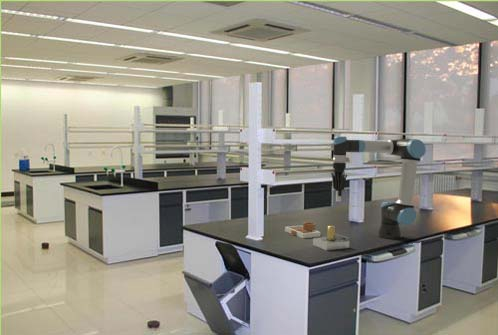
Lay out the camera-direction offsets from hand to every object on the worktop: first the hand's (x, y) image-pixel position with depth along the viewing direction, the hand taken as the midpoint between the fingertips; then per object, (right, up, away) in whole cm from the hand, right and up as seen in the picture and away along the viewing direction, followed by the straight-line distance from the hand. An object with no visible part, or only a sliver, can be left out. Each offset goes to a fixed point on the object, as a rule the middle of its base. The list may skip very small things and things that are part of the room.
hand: (338, 201), depth 265 cm
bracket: (-17, -25, +31) cm, 43 cm away
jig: (-5, -27, -3) cm, 27 cm away
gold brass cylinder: (-5, -27, -3) cm, 27 cm away
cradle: (-18, -24, +31) cm, 43 cm away
